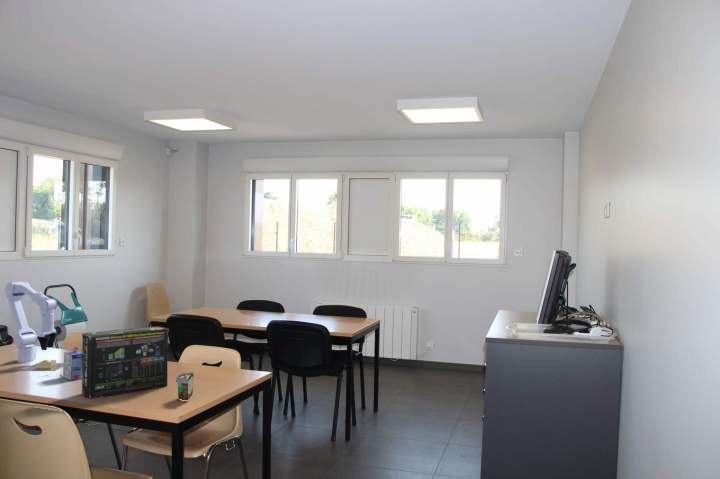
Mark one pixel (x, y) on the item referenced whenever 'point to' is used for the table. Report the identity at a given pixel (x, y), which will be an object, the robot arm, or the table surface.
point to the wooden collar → (47, 365)
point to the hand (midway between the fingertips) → (47, 348)
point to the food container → (185, 385)
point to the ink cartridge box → (72, 365)
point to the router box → (124, 361)
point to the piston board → (36, 368)
